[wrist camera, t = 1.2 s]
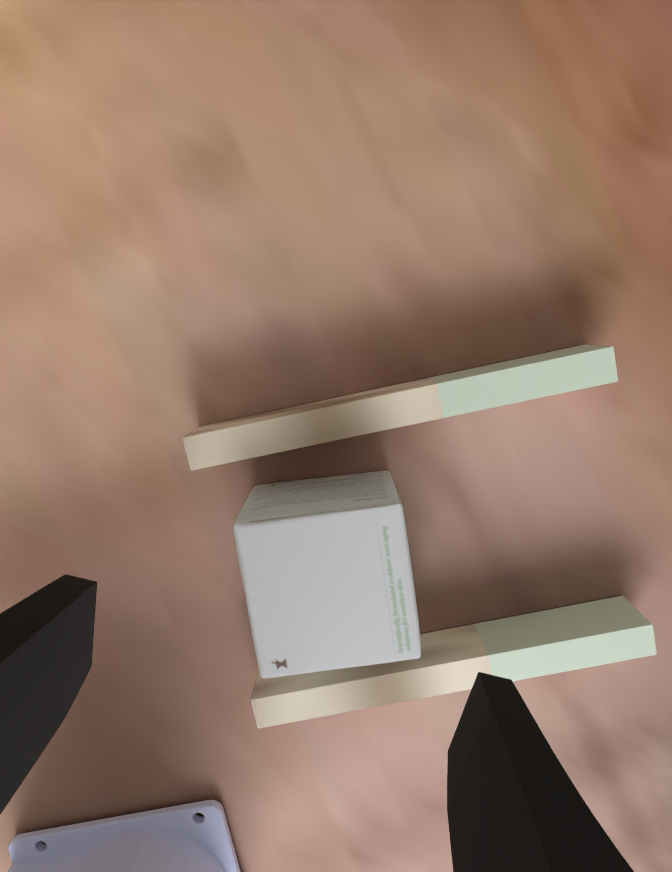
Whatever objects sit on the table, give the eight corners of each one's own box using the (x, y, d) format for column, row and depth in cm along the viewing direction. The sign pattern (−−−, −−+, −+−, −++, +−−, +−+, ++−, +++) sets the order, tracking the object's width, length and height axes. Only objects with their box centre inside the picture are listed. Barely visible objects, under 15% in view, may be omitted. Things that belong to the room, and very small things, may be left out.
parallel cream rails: (266, 691, 26) (257, 728, 24) (198, 426, 24) (182, 437, 22) (626, 623, 26) (656, 654, 23) (585, 344, 24) (613, 346, 21)
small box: (410, 600, 26) (425, 664, 21) (271, 617, 26) (253, 684, 21) (393, 464, 25) (404, 498, 20) (249, 483, 25) (225, 521, 20)
